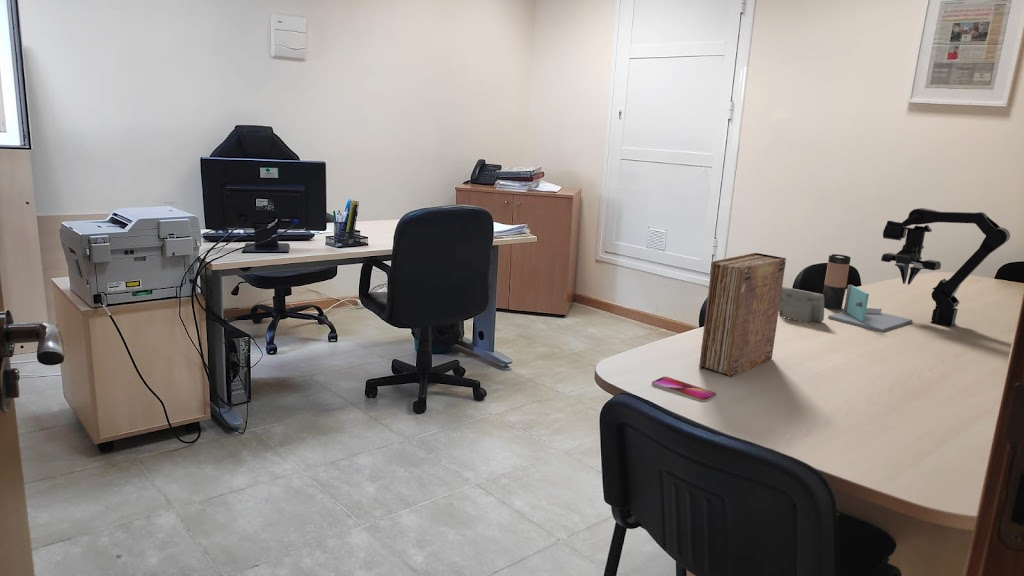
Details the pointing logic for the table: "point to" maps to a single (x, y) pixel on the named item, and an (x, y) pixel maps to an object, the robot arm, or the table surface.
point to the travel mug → (836, 281)
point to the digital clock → (801, 305)
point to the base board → (872, 320)
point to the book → (741, 312)
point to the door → (856, 302)
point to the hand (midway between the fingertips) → (906, 284)
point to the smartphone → (683, 389)
